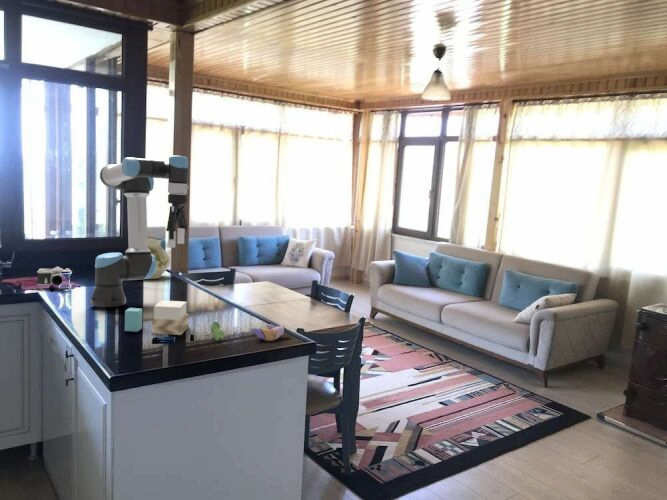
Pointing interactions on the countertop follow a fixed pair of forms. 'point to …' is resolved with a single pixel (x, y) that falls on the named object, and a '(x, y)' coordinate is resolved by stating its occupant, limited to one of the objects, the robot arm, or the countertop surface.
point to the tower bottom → (170, 326)
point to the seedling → (214, 329)
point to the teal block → (133, 319)
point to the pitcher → (158, 256)
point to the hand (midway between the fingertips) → (176, 245)
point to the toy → (269, 332)
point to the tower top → (170, 310)
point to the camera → (51, 276)
